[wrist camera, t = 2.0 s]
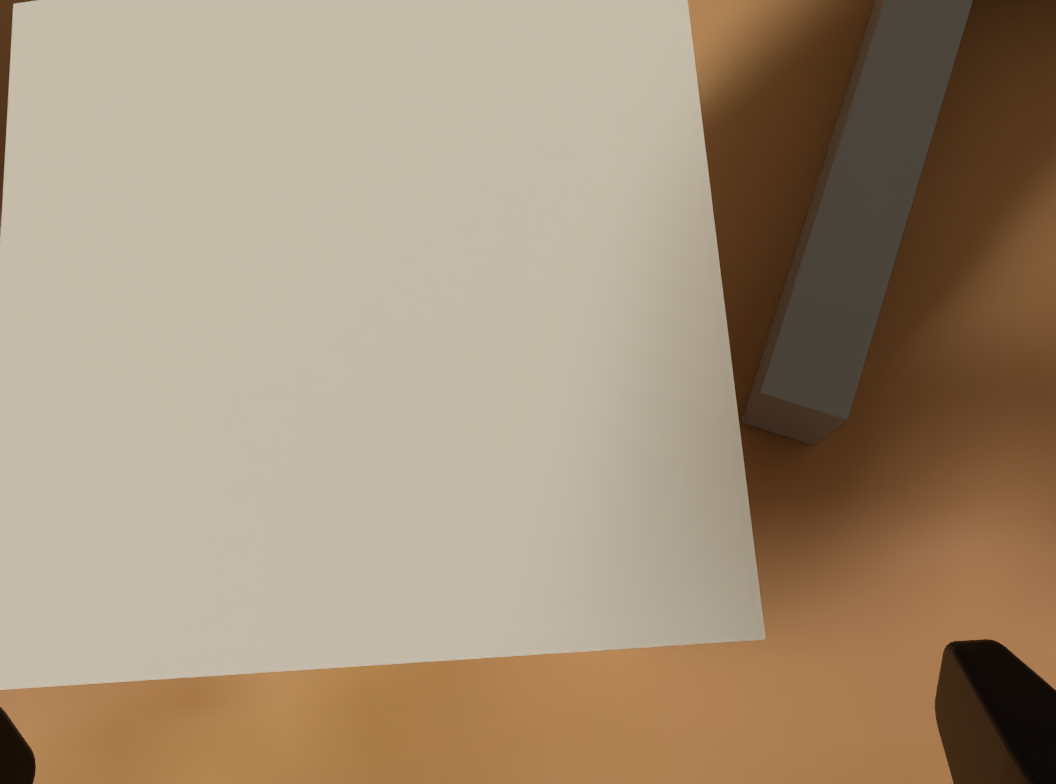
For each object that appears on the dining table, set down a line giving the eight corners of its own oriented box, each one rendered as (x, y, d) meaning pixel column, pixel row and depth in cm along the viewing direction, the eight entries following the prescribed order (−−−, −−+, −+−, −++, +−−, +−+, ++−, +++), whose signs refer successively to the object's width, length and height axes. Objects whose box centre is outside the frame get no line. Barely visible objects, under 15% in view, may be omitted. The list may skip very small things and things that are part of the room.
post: (673, 597, 18) (765, 639, 5) (426, 615, 18) (-25, 690, 6) (649, 354, 19) (676, -92, 6) (416, 376, 20) (13, 3, 7)
